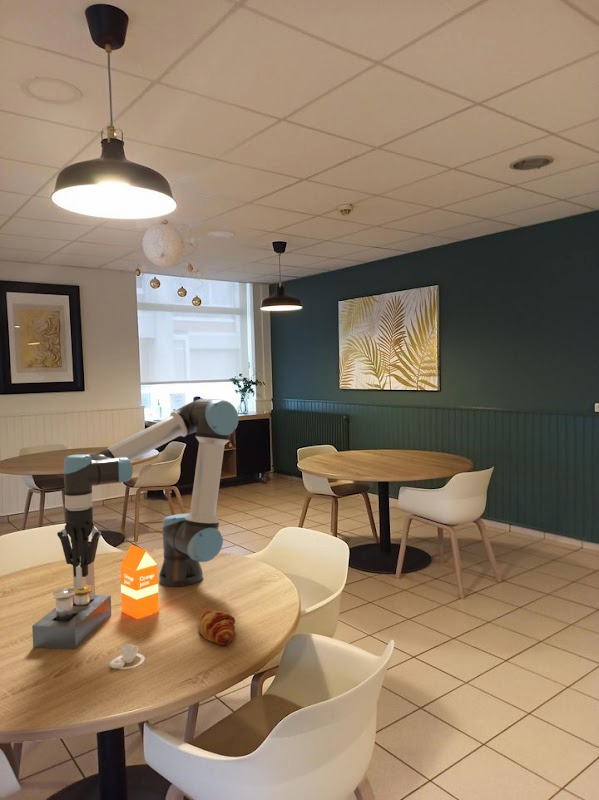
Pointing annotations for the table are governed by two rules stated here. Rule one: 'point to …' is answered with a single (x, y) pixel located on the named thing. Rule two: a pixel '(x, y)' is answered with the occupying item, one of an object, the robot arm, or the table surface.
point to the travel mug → (90, 577)
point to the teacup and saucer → (126, 657)
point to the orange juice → (139, 583)
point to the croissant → (217, 626)
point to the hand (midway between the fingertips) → (81, 587)
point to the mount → (71, 625)
